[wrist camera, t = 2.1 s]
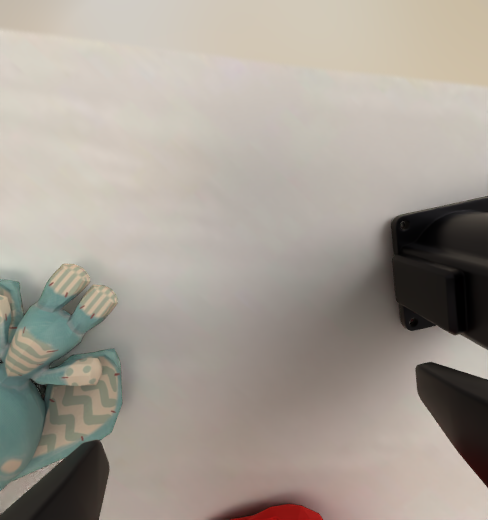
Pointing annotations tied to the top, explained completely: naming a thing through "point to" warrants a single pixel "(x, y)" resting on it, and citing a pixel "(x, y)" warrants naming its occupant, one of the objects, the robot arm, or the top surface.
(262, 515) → the water bottle
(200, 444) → the top surface
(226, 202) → the top surface
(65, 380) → the stuffed animal
